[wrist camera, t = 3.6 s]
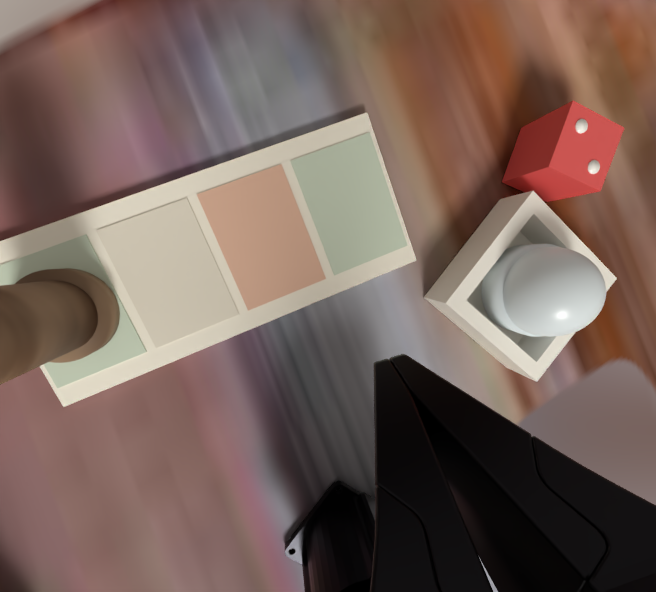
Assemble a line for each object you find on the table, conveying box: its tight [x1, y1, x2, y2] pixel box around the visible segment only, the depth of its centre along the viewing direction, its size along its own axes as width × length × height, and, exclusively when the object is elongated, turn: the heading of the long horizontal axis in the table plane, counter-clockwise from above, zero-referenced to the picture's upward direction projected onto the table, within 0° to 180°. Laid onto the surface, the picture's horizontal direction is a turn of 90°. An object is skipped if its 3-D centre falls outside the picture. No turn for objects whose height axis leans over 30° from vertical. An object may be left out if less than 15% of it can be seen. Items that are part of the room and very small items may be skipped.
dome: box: [481, 244, 606, 337], centre depth 20 cm, size 6×6×6 cm
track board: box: [0, 112, 416, 407], centre depth 20 cm, size 24×10×1 cm, turn 111°
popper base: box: [424, 191, 617, 382], centre depth 22 cm, size 9×9×3 cm
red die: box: [502, 101, 624, 202], centre depth 21 cm, size 4×4×4 cm
